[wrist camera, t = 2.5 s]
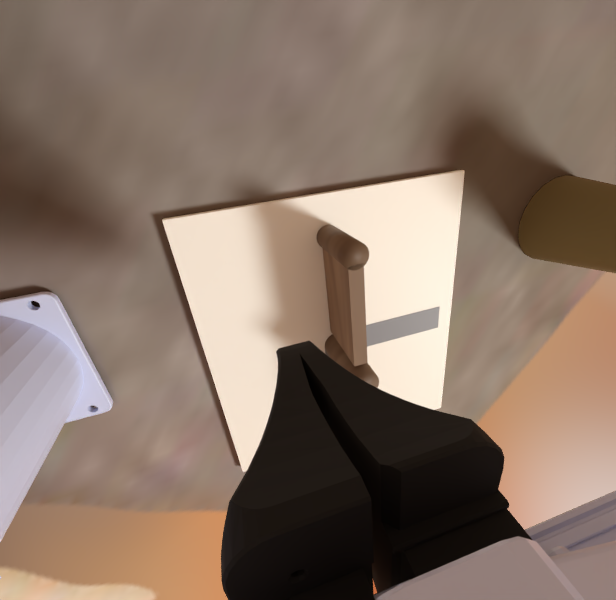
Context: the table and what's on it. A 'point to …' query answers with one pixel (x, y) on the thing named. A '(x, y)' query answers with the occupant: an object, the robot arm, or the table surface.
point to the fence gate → (345, 290)
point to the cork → (572, 224)
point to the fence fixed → (343, 360)
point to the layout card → (320, 288)
